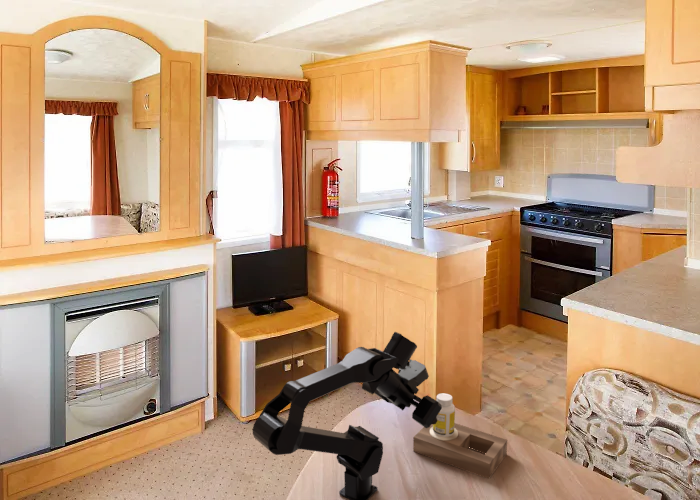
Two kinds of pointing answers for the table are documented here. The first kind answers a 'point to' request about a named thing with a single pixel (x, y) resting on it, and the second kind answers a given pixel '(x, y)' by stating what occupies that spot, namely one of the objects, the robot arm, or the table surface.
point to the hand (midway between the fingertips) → (422, 413)
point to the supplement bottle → (445, 416)
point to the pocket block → (463, 449)
